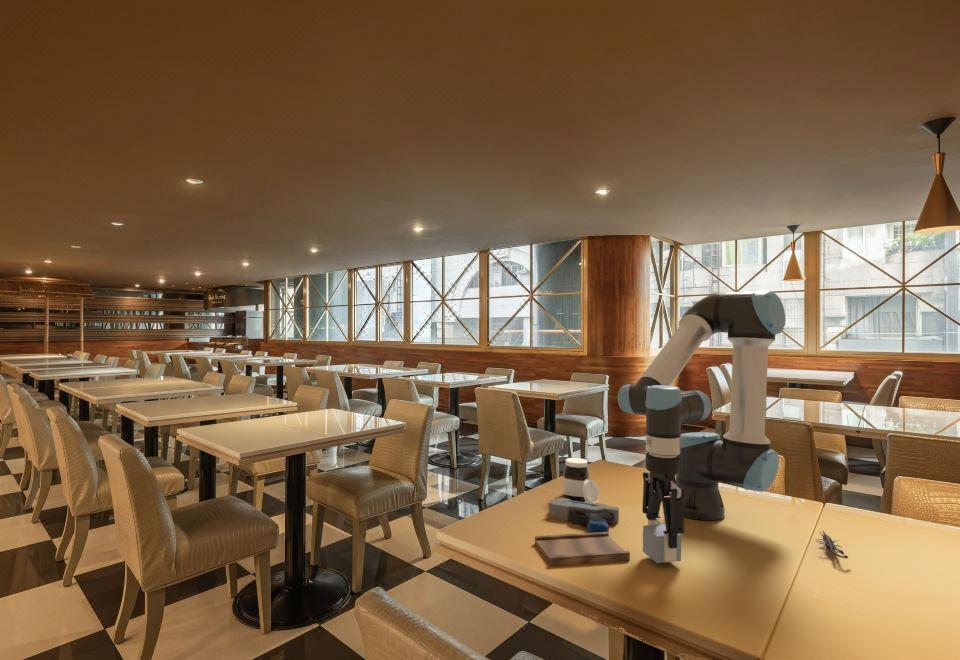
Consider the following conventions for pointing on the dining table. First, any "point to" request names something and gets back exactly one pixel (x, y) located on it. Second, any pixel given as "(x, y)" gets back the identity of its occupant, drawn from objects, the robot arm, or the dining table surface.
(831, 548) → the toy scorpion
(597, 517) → the ray gun
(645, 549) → the cube
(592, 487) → the spread jar
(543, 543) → the board
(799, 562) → the dining table surface
